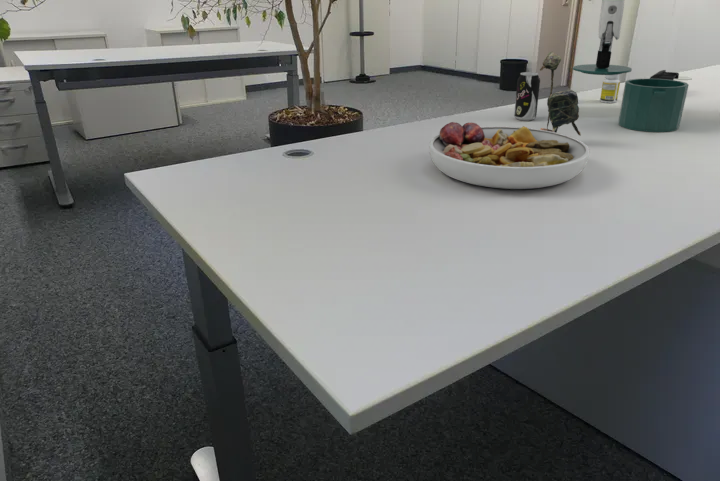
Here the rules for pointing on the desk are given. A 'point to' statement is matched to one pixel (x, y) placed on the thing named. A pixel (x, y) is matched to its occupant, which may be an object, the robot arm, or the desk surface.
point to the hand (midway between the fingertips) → (602, 66)
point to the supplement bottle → (610, 89)
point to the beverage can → (527, 96)
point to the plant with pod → (560, 100)
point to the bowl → (507, 156)
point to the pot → (652, 104)
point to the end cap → (665, 75)
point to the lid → (602, 69)
